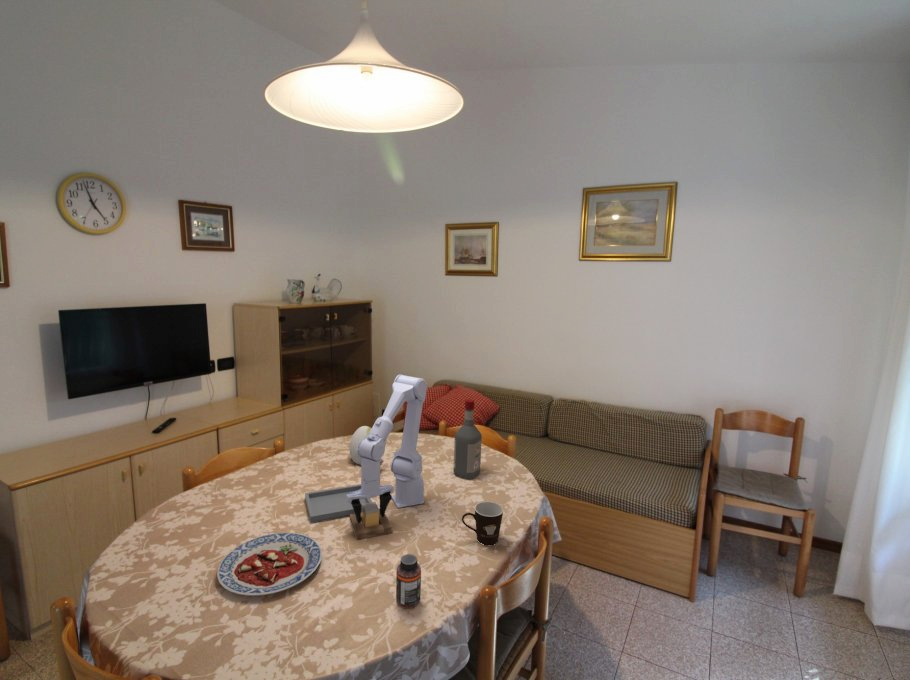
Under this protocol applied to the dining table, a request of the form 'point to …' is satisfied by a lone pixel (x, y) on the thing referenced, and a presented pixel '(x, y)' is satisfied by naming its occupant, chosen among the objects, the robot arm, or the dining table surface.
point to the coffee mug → (487, 522)
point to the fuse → (370, 514)
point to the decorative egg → (356, 439)
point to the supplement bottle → (408, 582)
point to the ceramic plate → (269, 564)
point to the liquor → (467, 446)
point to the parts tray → (331, 503)
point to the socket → (372, 531)
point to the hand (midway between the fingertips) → (370, 518)
